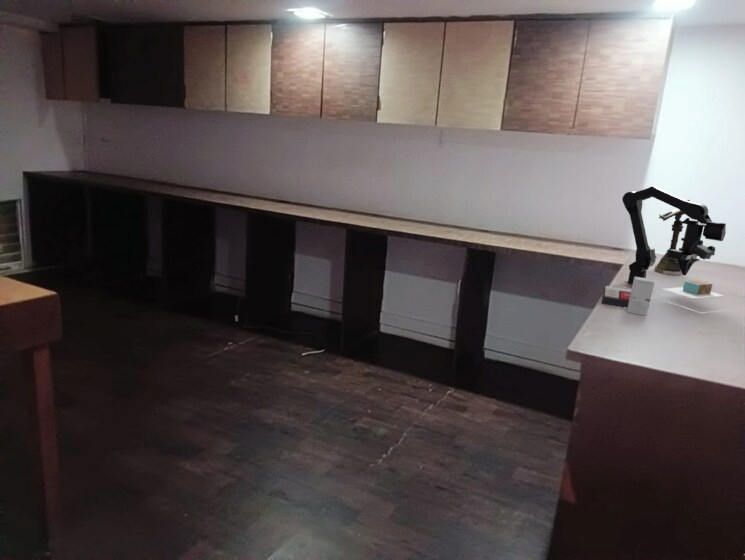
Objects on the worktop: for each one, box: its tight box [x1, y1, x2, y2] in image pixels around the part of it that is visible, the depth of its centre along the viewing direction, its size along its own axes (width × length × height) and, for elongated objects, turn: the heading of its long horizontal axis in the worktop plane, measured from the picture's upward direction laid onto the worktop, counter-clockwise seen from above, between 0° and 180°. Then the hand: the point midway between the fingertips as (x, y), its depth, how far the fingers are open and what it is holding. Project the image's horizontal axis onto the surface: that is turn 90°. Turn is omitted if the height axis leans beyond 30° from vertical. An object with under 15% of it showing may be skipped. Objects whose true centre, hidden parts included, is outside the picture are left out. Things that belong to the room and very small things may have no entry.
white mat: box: [662, 286, 724, 300], centre depth 231 cm, size 20×14×1 cm
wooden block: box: [682, 279, 713, 295], centre depth 232 cm, size 4×6×9 cm
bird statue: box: [654, 199, 691, 276], centre depth 265 cm, size 17×13×35 cm
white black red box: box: [601, 285, 632, 309], centre depth 209 cm, size 11×4×15 cm
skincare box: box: [626, 277, 655, 316], centre depth 195 cm, size 6×4×12 cm
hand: (683, 275), depth 226 cm, fingers closed
